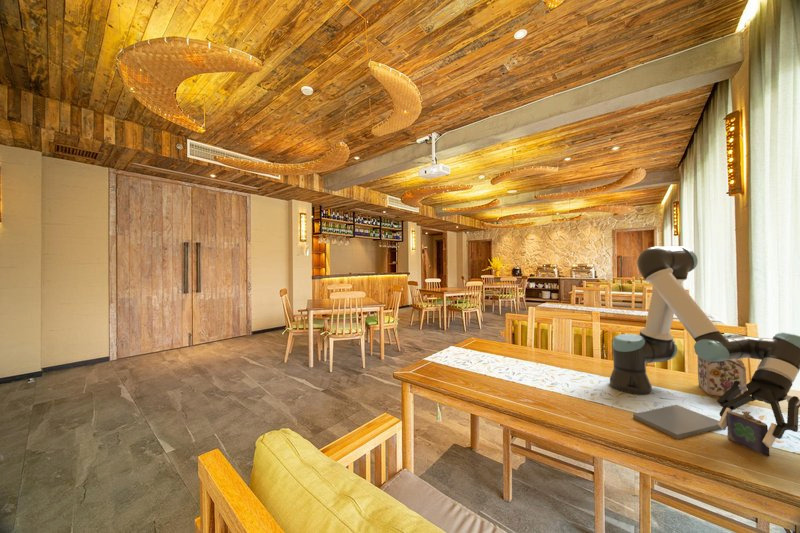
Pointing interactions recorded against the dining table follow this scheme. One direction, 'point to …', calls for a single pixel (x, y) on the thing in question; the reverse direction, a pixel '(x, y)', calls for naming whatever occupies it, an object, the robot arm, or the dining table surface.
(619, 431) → the dining table surface
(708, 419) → the slate board
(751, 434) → the flask
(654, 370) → the dining table surface
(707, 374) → the decorative jar
